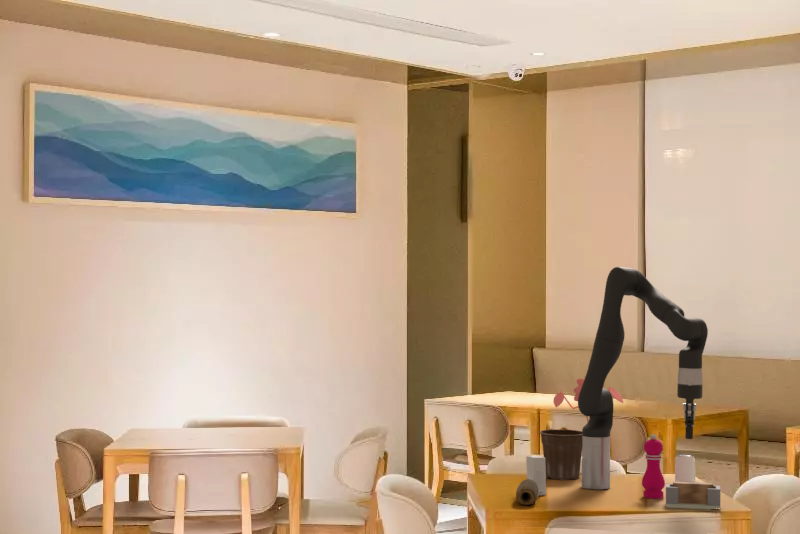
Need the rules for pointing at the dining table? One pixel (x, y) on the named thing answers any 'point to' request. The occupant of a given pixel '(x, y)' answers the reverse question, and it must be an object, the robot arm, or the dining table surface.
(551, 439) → the plant pot
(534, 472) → the skincare box
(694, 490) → the slat
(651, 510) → the dining table surface
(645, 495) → the pepper mill
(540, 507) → the dining table surface
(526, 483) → the brown twine roll
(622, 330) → the robot arm
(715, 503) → the holder
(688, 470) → the can
